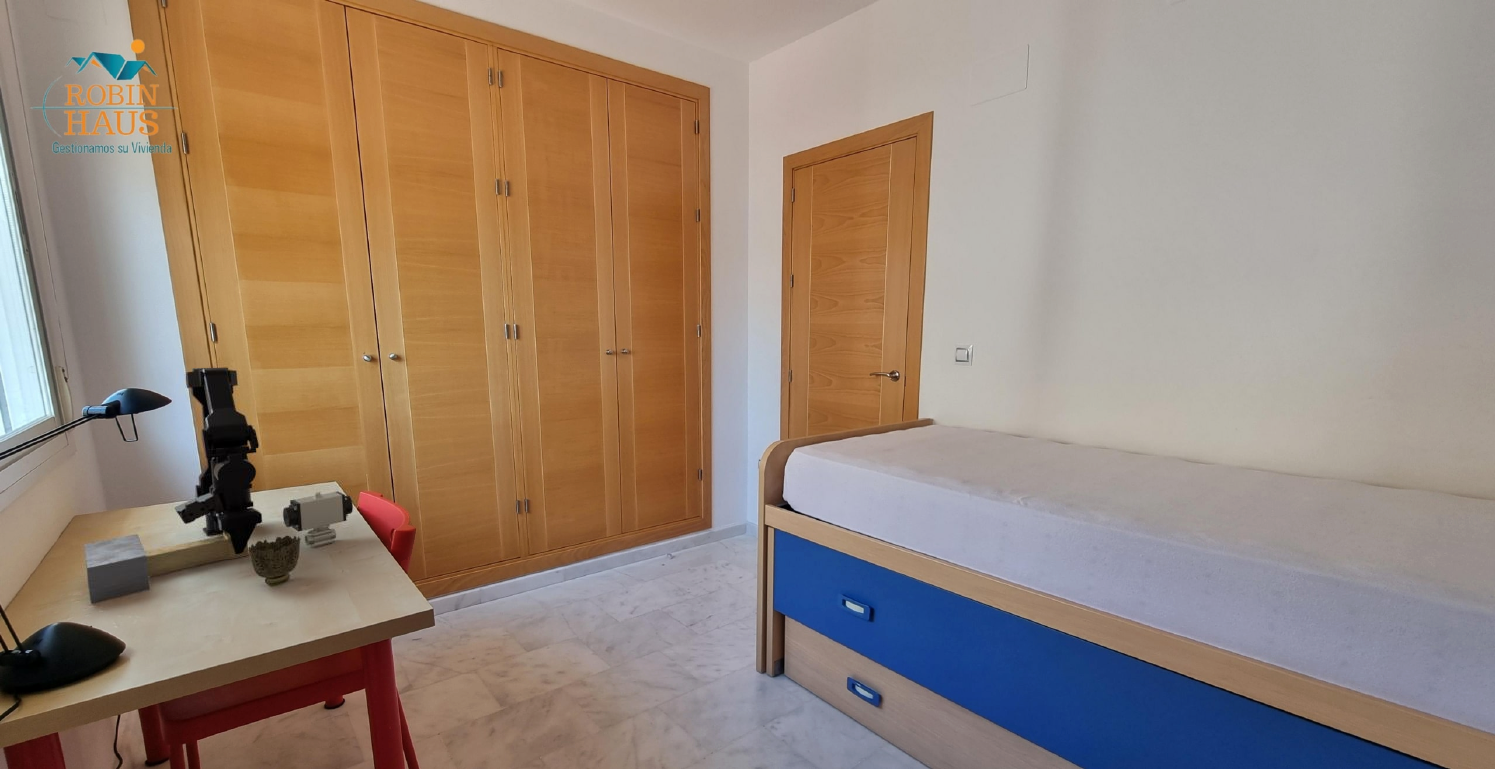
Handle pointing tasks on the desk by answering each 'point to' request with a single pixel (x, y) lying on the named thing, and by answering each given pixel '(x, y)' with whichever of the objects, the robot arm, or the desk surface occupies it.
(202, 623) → the desk surface
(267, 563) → the cup
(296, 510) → the pneumatic valve
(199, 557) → the wooden bar
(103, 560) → the gray rectangular block
